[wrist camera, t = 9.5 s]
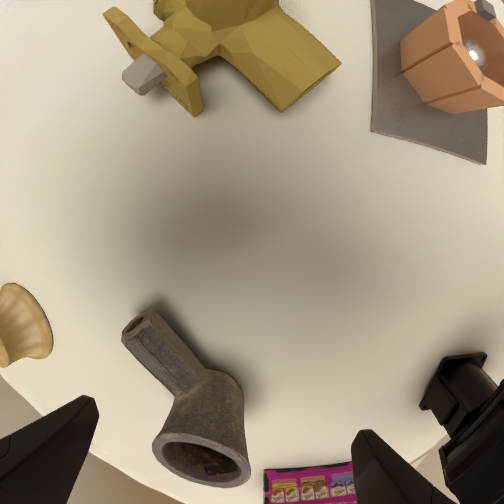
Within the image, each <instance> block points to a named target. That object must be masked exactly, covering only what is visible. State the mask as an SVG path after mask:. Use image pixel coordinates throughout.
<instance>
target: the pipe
mask: <svg viewBox="0 0 504 504" xmlns="http://www.w3.org/2000/svg"><path fill="white" fill-rule="evenodd" d="M121 341H122V343H123V344H124V345H125V347H126V348H127V349H128V350H129V351H130V352H131V353H132V354H133V356H134V357H135V358H136V359H137V360H138V361H139V362H140V363H141V364H142V365H143V366H144V367H145V368H146V369H147V370H148V371H149V372H150V373H151V374H152V375H153V376H154V377H155V378H156V379H158V380H159V381H160V382H161V383H162V384H163V385H164V386H165V387H166V388H167V389H168V390H169V391H170V392H171V393H172V394H173V395H174V396H175V399H174V403H173V406H172V408H171V411H170V413H169V415H168V417H167V419H166V421H165V424H164V426H163V428H162V430H161V431H160V433H159V434H158V435H157V437H156V438H155V439H154V441H153V443H152V451H153V453H154V455H155V457H156V459H157V460H158V461H159V462H160V463H161V464H162V465H163V466H164V467H166V468H167V469H168V470H170V471H171V472H172V473H174V474H176V475H178V476H180V477H181V478H184V479H186V480H189V481H191V482H195V483H199V484H203V485H208V486H212V487H220V488H232V487H237V486H241V485H242V484H244V483H245V482H247V481H248V480H249V478H250V475H251V467H250V464H249V460H248V454H247V446H246V439H245V430H244V398H243V394H242V392H241V389H240V388H239V386H238V385H237V383H236V382H235V381H234V380H233V379H232V378H231V377H230V376H229V375H227V374H226V373H223V372H220V371H214V370H210V369H206V368H205V367H204V366H203V365H202V363H201V362H200V361H199V360H198V359H197V357H196V356H195V355H194V354H193V353H192V351H191V350H190V349H189V348H188V347H187V345H186V344H185V343H184V342H183V341H182V340H181V339H180V337H179V336H178V335H177V334H176V333H175V332H174V331H173V330H172V329H171V327H170V326H169V325H168V324H167V323H166V321H165V320H164V319H163V318H162V317H161V316H160V315H159V314H158V313H157V312H156V311H155V310H154V309H148V310H147V311H145V312H143V313H141V314H140V315H138V316H137V317H135V318H134V319H133V320H131V321H130V322H129V324H128V325H127V326H126V327H125V328H124V330H123V331H122V337H121Z"/></svg>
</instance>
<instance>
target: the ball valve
mask: <svg viewBox="0 0 504 504" xmlns="http://www.w3.org/2000/svg"><path fill="white" fill-rule="evenodd" d="M153 1H154V14H155V15H156V16H157V17H158V18H159V19H160V20H162V21H164V27H163V28H161V29H160V30H159V31H157V32H156V33H155V34H154V35H152V36H151V37H150V38H149V37H148V36H146V35H145V34H144V33H143V32H142V31H141V30H140V28H139V27H138V26H137V25H136V24H135V23H134V22H133V21H132V20H131V19H130V18H129V17H128V16H127V15H126V14H125V13H123V12H122V11H121V10H119V9H118V8H117V7H112V8H111V9H109V10H107V11H106V12H104V13H102V14H103V16H104V17H105V19H106V20H107V22H108V23H109V25H110V26H111V28H112V29H113V31H114V32H115V34H116V35H117V37H118V38H119V40H120V41H121V43H122V45H123V46H124V48H125V49H126V51H127V52H128V54H129V55H130V57H131V58H132V59H133V60H134V62H133V63H132V64H131V65H130V66H129V67H128V68H127V69H126V70H124V71H123V72H122V80H123V81H124V82H125V83H126V84H127V85H128V86H129V87H130V88H132V89H133V90H134V91H135V93H137V94H138V95H145V94H147V93H148V92H149V91H150V90H151V89H152V88H154V87H155V86H156V85H157V84H158V83H161V84H162V85H163V86H164V87H165V88H166V89H167V90H168V91H169V92H170V94H171V95H172V96H173V97H174V98H175V99H176V100H177V101H178V102H179V103H180V104H181V105H182V106H183V107H184V108H185V109H186V110H187V111H188V112H189V113H190V114H191V115H192V116H193V117H195V116H196V115H197V114H199V113H200V112H201V111H202V110H203V106H202V100H201V94H200V88H199V82H198V77H197V76H196V75H195V73H194V72H193V71H192V69H191V68H193V67H194V66H195V65H196V64H200V63H202V62H204V61H206V60H208V59H210V58H212V57H215V56H221V57H223V58H224V59H225V60H227V61H228V62H229V63H230V64H232V65H233V66H234V67H235V68H237V69H238V70H239V71H240V72H242V73H243V74H244V75H245V76H246V77H247V78H248V79H249V80H250V81H251V82H252V83H253V84H254V85H255V86H256V87H257V88H258V89H259V90H260V91H261V92H262V93H263V94H264V95H265V96H266V97H267V98H268V99H269V100H270V101H271V102H272V103H273V104H274V105H275V107H276V108H277V109H278V110H279V111H280V112H281V113H282V112H283V111H284V110H285V109H287V108H288V107H289V106H291V105H292V104H293V103H294V102H296V101H297V100H298V99H299V98H301V97H302V96H303V95H304V94H306V93H307V92H308V91H309V90H311V89H312V88H313V87H315V86H316V85H317V84H318V83H320V82H321V81H322V80H323V79H324V78H326V77H327V76H328V75H329V74H331V73H332V72H333V71H334V70H336V69H337V68H338V67H339V66H340V65H341V64H342V63H341V62H340V61H339V60H338V59H337V58H336V57H335V56H334V55H333V54H332V53H331V52H330V51H329V50H328V49H327V48H326V47H325V46H324V45H323V44H322V43H321V42H320V41H319V40H317V39H316V38H315V37H314V36H313V35H312V34H311V33H310V32H309V31H308V30H306V29H305V28H304V27H303V26H302V25H301V24H299V23H298V22H297V21H295V20H294V19H293V18H291V17H290V16H288V15H287V14H286V13H284V12H283V10H282V9H281V7H280V6H279V0H153Z"/></svg>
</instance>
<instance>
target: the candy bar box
mask: <svg viewBox="0 0 504 504" xmlns="http://www.w3.org/2000/svg"><path fill="white" fill-rule="evenodd" d="M263 504H357V499H356V494H355V489H354V481H353V468H352V462H348V463H341V464H335V465H327V466H319V467H310V468H299V469H285V470H266V471H264V480H263Z"/></svg>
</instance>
